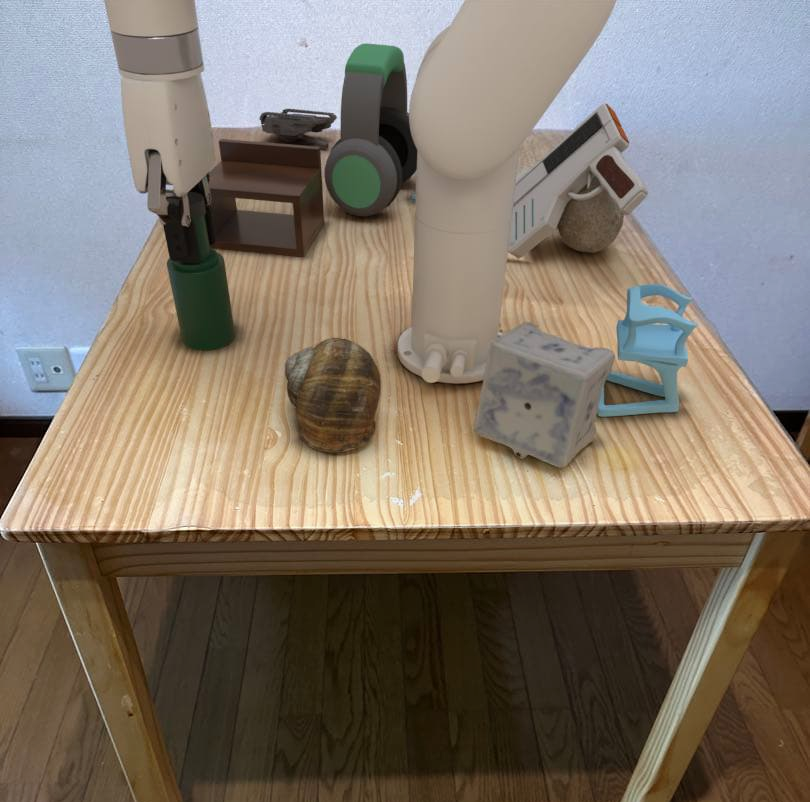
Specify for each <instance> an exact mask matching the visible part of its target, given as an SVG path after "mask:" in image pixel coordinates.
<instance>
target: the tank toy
mask: <svg viewBox="0 0 810 802" xmlns="http://www.w3.org/2000/svg"><path fill="white" fill-rule="evenodd" d="M317 115H319V116H317ZM337 119H338V117H337V114H335V113H334V112H327V111H319V110H318V111H316V110H308V109H307V110H306V109H299V108H298V109H297V108H284V109H282V112H276V111H275V112H273V111H264V112H262V113H261V114H260V116H259V121H260V126H261V129H262V132H264V133H265V134H270V135H275V136H277V137H278V138H279V139H280V140H281V141H283V142H285V143H291V142H294V141H296V140H297V139H299V140H302V141H305V142H307V143H310V144H312V145H316V146H317V147H320V148H322V149H328V148H329V146H330V145H329V143H328V142H327V141H325V140H322V139H317V138H316V137H313V136H309V135H307V133H316V134H317V133H318V134H319V133H322V132H323V130H327V129H330V128H331V127H332V124H334V123H335V121H336V120H337Z"/></svg>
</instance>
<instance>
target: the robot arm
mask: <svg viewBox="0 0 810 802" xmlns="http://www.w3.org/2000/svg"><path fill="white" fill-rule="evenodd" d="M617 1H618V0H464V1H463V3H462V4H461V6H460V7H459V10H458V11H457V13H456V15H455V17H454V18H453V19H452V21H451V24H450V25H448V26H447V27H445V28H444V29H443V30H441V31H440V32H439V33H438V34H437V35H436V37H435V38H434V39H433V40H432V42H431V43H430V44H429V46H428V47H427V49H426V50H425V53H424V55H423V56H422V57H423V58H422V60H421V62H420V65H419V68H418V71H417V74H416V77H415V82H414V84H413V87H412V91H411V94H410V99H409V104H408V105H409V106H408V113H409V125H410V131H411V135H412V138H413V141H414V144H415V146H416V148H417V170H416V172H415V174H416V175H415V194H416V201H415V200H414V203H415V205H414V207H415V208H414V209H415V210H414V229H413V230H414V231H413V232H414V234H413V237H414V239H413V271H412V273H413V274H412V275H413V276H412V305H411V306H412V308H411V311H412V313H411V326H409V327H408V328H407V329H405V330H403V332H402V333H401V334H400V336H399V337H398V340H397V349H396V352H397V357H398V359H399V361H400V363H401V364H402V365H403V366H404V368H406V369H407V370H408V371H410V372H411V373H413V374H414V375H417V376H419V377H421V378H422V379H423V380H424V381H425V382H426V383H429V384H433V383H436V382H437V383H443V384H471V383H477V382H483V379H484V372H485V367H486V362H487V356H488V351H489V348H490V344H491V341H493V340H496V339H497V338H499V337H500V336H502V335H504V334H503V333H502V332H501V331H500V323H501V316H502V315H501V314H502V306H503V297H504V289H505V281H506V270H507V263H508V254H509V253H508V245H509V236H510V227H511V219H512V212H513V204H514V195H515V185H516V176H517V171H518V165H519V157H520V155H519V154H520V147H521V146H522V144H523V143H524V141H525V140H526V139H527V137H528V136H530V134H531V132H532V131H533V130H534V129H535V127H536V125H537V124H538V123H539V121H540V120H541V119H542V118H543V116H544V114H545V113H546V112H547V110H548V109H549V108H550V106H551V105H552V104H553V102H554V101H555V99H556V98H557V97H558V96H559V94H560V92H561V91H562V90H563V88H564V86H565V85H566V84H567V83H568V81H569V80H570V78H571V77H572V76H573V74H574V72H576V70H577V68H578V67H579V66H580V65H581V63H582V62H583V60H584V58H585V57H586V56H587V54H588V53H589V51H590V50H591V48H592V47H593V45H594V44H595V42H596V41H597V40H598V38H599V37H600V34H601V33H602V31H603V30H604V29H605V26H606V24H607V23H608V21H609V19H610V16H611V15H612V14H613V13H612V12H613V10H614V8H615V6H616V3H617ZM103 2H104V6H105V11H106V16H107V21H108V25H109V29H110V35H111V40H112V45H113V50H114V54H115V59H116V63H117V69H118V73H119V75H120V76H121V78H120V96H121V97H120V98H121V109H122V110H121V111H122V117H123V125H124V126H123V127H124V133H125V139H126V145H127V151H128V157H129V164H130V169H131V176H132V179H133V183H134V186H135V189H136V190H135V191H137V192H138V193H139V194H147V200H146V201H147V205H146V206H147V210H148V211H149V212H151V213H153V214H155V215H157V216H158V217H159V218H158V219H159V223H160V224H161V225H162V227H163V232H164V236H165V241H166V242H165V243H166V247H167V252H168V257H169V258H170V259H171V260H172V261H177V262H186V263H198V262H199V261H200V260H201V256H200V250H199V245H198V239H197V233H196V227H195V223H190V222H191V219H190V209H189V200H188V192H195V193H199V194H201V195H202V196H203V197H204V202H205V208H206V214H205V221H206V227H207V233H208V240H209V245H214V243H215V242H216V236H215V229H214V222H213V216H212V209H211V206H208V205H206V204H210V203H211V193H210V189H209V181H210V179H209V177H210V175H209V172H210V171H211V170H212V169H213V168H214V165H215V163H216V151H215V142H214V135H213V128H212V127H213V126H212V122H211V115H210V109H209V105H208V100H207V95H206V91H205V86H204V82H203V78H202V73H204V71H205V63H204V57H203V49H202V41H201V36H200V27H199V20H198V14H197V7H196V1H195V0H103ZM167 186H172V188H173V189H170V188H169V189H168V188H167ZM167 198H170V199H178V200H179V208H178V207H177V206H176V205H175V204H172V203H169V202H168V200H167Z"/></svg>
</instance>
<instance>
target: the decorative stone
mask: <svg viewBox="0 0 810 802" xmlns="http://www.w3.org/2000/svg"><path fill="white" fill-rule="evenodd" d="M600 185H601V184H600V182H599V180H598V178H597V177H596V176H594V177H593V178H592V181H591V184H590V187H589V188H588V189H587V186H588V183H587V184H586V185H585V186H584V187H583V188H582V189H581V190H580V191H579V192H578V193H577V194H587V193H590V192H591V191H593V190H594V189H596V188H597V187H599V186H600ZM624 217H625V215H624V214H623V213H622V212H621V211H620V210H619V208H618V206H617V204H616V203H615V202H614V201H613V200H612V199H611V198H610V196H609V194H608V192H607V190H606V189H603V190H602V191H601V192H600V193H599V194H597V195H596V196H594V197H592V198H590V199H588V200H580V201H579V200H575V199H571V200H570V201H569V202H568V203H567V204H566V206H565V209H564V211H563V213H562V216H561V218H560V220H559V223H558V225H557V230H558V234H559V236H560V238H561V241H562V242H563V244H566V246H567V247H569V248H571V249H572V250H575V251H578V252H581V253H585V254H586V253H590V254H594V253H597V252H600V251H603V250H605V249H606V248H608V247H609V246H610V245H611V244H613V242H614V241H615V240H616V239H617V237H618V235H619V233H620V232H621V229H622V227H623V225H624Z"/></svg>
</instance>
